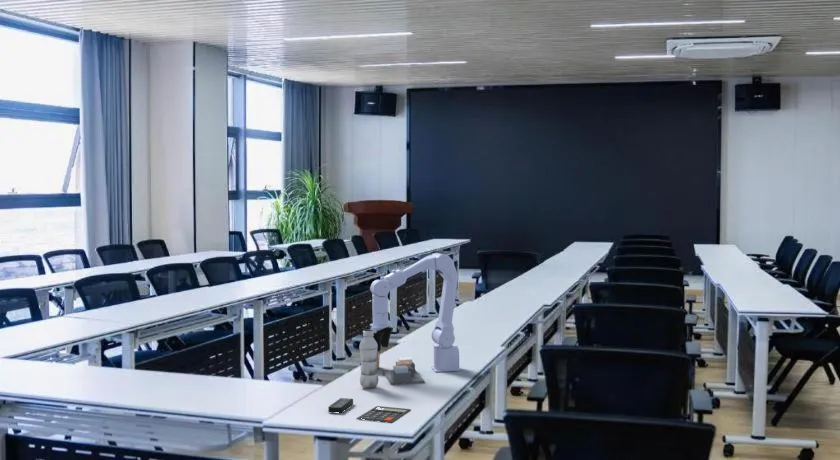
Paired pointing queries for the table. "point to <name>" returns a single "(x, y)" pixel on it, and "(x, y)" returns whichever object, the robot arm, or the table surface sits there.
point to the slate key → (400, 369)
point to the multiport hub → (340, 405)
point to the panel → (404, 376)
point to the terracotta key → (403, 363)
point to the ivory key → (405, 359)
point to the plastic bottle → (368, 360)
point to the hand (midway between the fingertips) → (381, 349)
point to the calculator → (384, 414)
